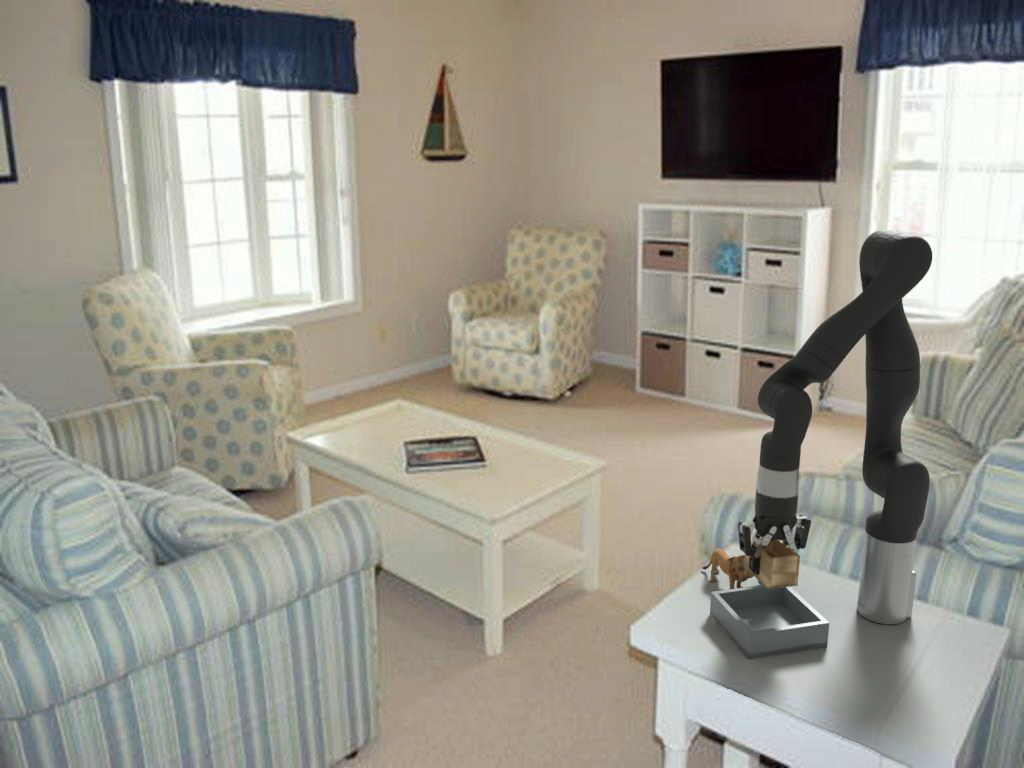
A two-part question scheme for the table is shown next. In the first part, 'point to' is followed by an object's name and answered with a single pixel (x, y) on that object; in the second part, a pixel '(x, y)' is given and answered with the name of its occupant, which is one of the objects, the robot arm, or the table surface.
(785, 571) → the small oak crate
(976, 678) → the table surface
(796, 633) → the grey square tray
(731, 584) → the lion figurine
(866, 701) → the table surface
